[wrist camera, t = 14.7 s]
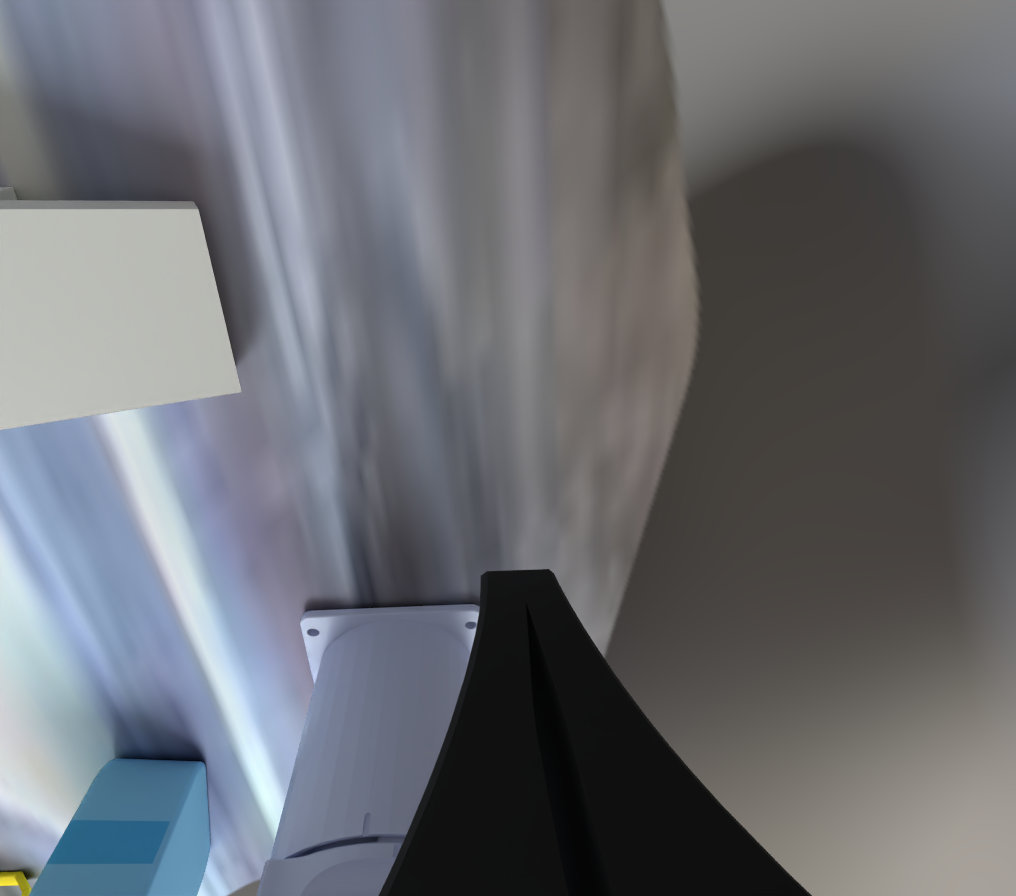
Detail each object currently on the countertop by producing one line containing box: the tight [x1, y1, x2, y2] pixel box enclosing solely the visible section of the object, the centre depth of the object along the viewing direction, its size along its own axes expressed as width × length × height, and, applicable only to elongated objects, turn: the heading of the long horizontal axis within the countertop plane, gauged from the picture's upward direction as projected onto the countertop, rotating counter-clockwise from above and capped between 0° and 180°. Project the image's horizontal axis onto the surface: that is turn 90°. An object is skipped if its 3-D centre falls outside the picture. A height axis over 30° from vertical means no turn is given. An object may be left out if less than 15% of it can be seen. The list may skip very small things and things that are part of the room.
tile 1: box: [0, 200, 241, 430], centre depth 13 cm, size 5×2×8 cm
